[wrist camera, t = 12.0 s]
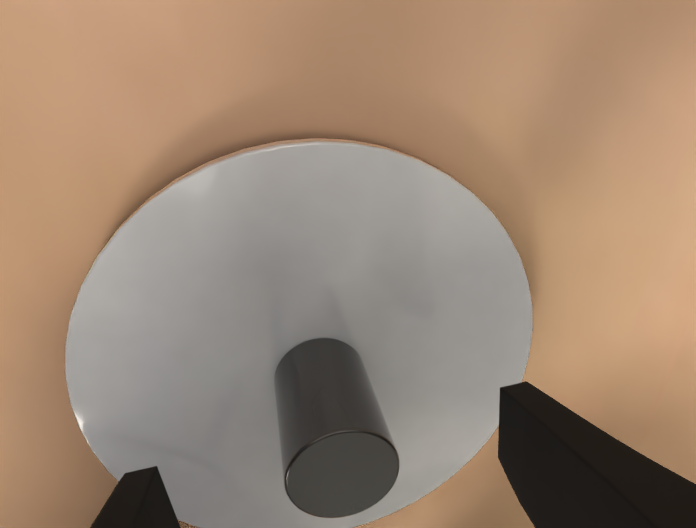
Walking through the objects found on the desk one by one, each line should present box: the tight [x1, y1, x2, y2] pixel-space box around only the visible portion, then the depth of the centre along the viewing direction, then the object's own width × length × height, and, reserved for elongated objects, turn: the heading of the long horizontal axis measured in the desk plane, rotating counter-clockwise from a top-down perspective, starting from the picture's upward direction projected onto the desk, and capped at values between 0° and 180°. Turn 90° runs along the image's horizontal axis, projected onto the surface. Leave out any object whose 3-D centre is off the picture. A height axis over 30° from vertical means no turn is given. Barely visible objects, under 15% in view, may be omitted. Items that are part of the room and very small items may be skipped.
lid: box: [65, 138, 533, 528], centre depth 12 cm, size 12×12×4 cm
